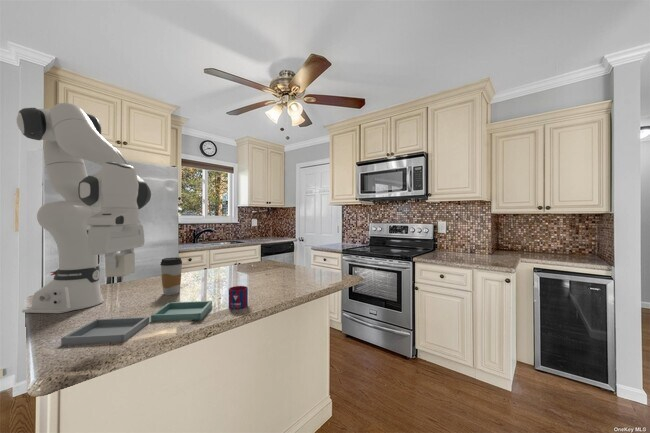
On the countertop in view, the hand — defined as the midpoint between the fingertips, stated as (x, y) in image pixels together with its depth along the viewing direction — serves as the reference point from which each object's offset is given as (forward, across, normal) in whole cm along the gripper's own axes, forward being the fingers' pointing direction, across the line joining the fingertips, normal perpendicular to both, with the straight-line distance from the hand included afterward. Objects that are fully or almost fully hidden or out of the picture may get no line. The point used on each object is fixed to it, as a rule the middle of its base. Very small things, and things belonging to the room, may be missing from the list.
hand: (120, 266), depth 80 cm
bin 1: (+19, +2, -2) cm, 19 cm away
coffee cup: (+19, -40, -2) cm, 45 cm away
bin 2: (+19, -12, +13) cm, 26 cm away
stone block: (+2, 0, 0) cm, 2 cm away
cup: (+19, -20, +30) cm, 41 cm away
